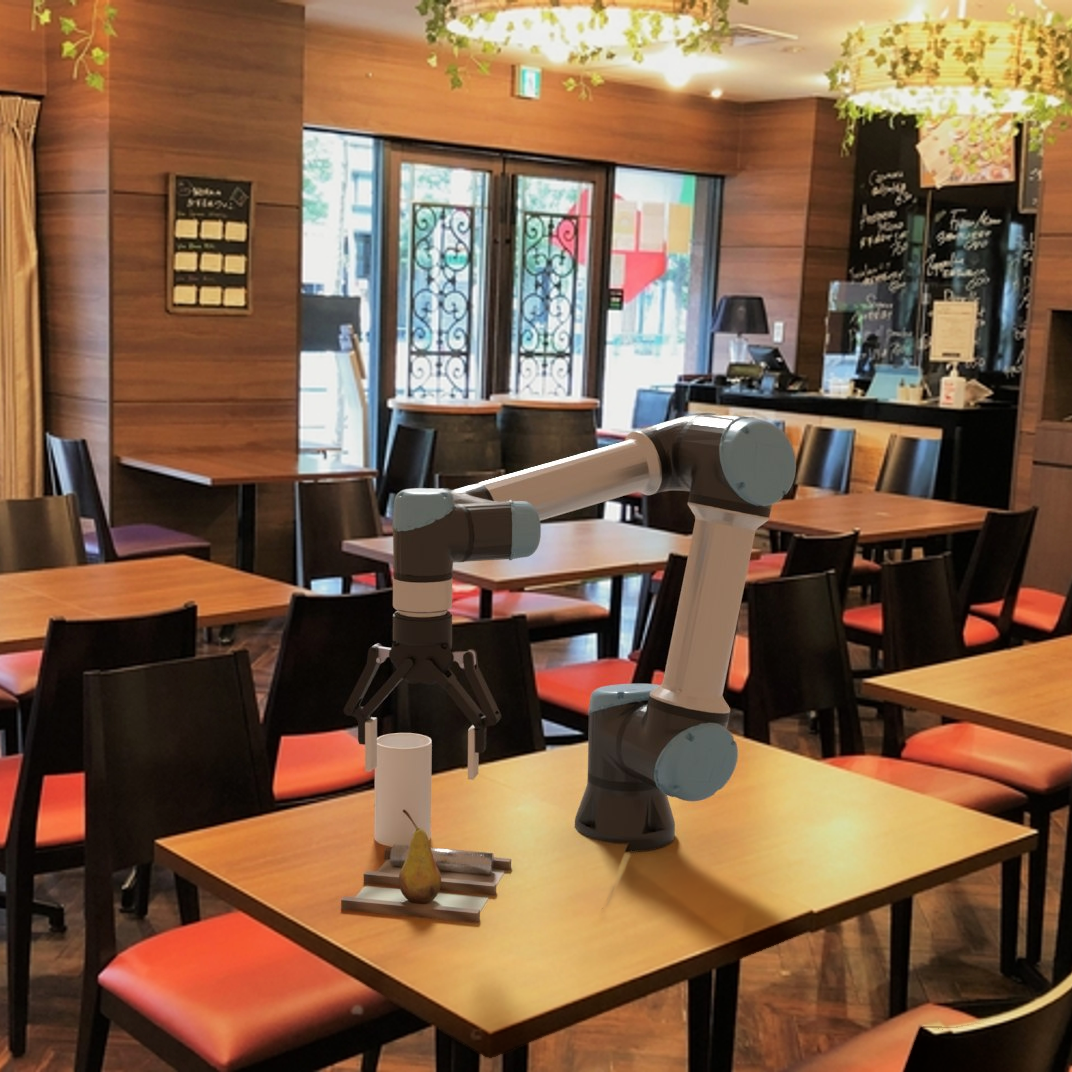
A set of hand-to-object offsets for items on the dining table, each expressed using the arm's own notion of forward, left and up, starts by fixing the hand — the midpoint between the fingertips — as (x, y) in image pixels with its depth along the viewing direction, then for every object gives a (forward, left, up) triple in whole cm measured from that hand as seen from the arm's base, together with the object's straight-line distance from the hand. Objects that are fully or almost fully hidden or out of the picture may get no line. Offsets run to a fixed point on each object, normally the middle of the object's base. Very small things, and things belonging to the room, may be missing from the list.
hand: (421, 772), depth 193 cm
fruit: (0, 0, -17) cm, 17 cm away
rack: (0, -5, -19) cm, 19 cm away
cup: (+9, -23, -19) cm, 31 cm away
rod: (0, -10, -17) cm, 19 cm away
